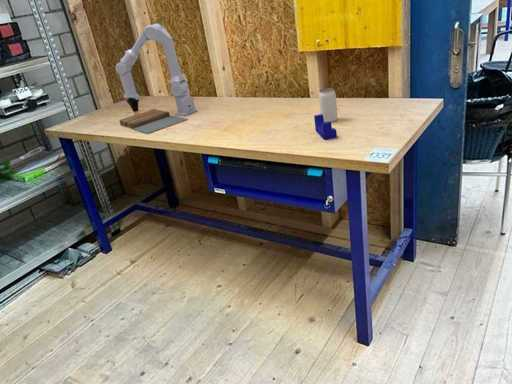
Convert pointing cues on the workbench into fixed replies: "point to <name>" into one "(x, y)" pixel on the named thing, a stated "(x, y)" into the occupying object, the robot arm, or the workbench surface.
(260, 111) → the workbench surface
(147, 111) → the tile
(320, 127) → the blue angular piece
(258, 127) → the workbench surface
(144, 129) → the mat
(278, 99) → the workbench surface
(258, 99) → the workbench surface
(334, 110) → the can
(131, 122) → the deck
